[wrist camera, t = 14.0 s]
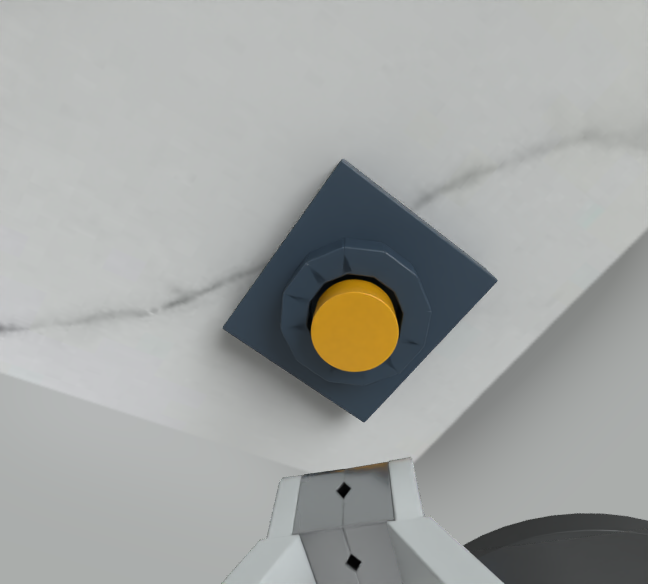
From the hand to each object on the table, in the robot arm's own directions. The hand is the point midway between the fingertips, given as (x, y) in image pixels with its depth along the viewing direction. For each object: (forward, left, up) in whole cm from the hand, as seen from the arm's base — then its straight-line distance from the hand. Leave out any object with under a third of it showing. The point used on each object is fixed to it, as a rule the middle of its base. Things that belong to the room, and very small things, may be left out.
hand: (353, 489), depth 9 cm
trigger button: (0, 0, -10) cm, 10 cm away
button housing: (0, 0, -14) cm, 14 cm away
